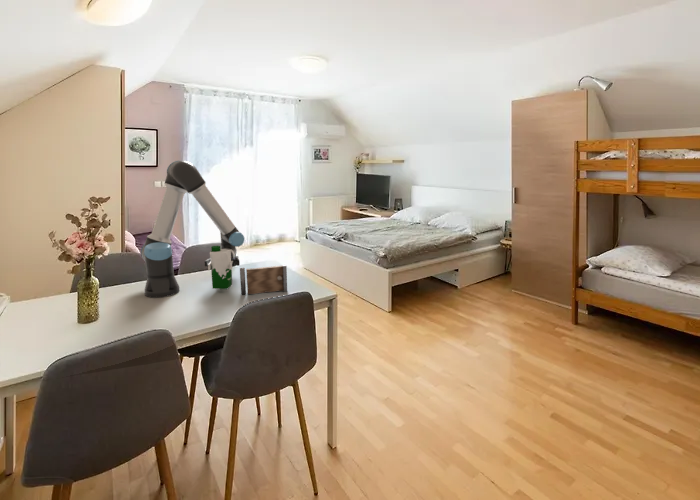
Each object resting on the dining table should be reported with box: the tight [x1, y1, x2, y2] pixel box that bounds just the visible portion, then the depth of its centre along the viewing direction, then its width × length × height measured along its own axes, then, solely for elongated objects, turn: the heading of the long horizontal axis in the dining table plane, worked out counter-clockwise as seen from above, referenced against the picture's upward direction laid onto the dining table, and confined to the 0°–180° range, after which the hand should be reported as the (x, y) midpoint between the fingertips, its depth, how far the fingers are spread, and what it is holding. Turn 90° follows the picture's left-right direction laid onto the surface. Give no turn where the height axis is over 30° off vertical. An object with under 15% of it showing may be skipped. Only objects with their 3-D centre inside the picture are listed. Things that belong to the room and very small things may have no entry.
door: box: [246, 265, 283, 295], centre depth 191 cm, size 18×4×12 cm, turn 111°
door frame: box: [239, 264, 288, 296], centre depth 190 cm, size 22×2×13 cm, turn 106°
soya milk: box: [209, 245, 233, 290], centre depth 193 cm, size 9×9×20 cm
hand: (219, 267), depth 188 cm, fingers closed on soya milk, 9 cm apart
